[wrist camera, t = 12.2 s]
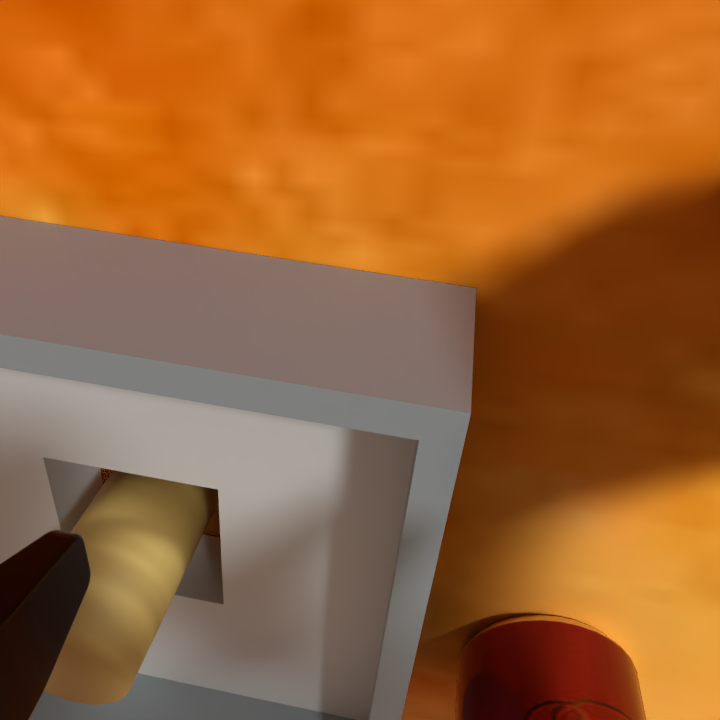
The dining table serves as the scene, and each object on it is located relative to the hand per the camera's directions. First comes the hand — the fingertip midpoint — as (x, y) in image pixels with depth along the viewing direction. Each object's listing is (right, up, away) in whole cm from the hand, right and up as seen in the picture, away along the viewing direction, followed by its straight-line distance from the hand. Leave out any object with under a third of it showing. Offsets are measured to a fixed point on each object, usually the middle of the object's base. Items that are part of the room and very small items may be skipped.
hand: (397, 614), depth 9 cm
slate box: (-8, -1, +17) cm, 19 cm away
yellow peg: (-8, -1, +17) cm, 18 cm away
